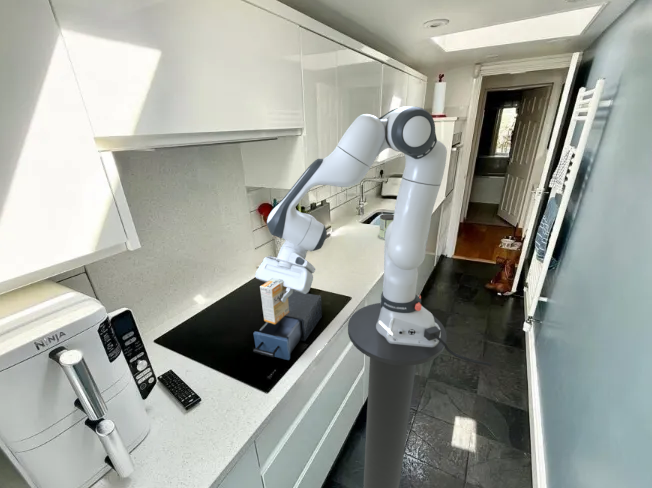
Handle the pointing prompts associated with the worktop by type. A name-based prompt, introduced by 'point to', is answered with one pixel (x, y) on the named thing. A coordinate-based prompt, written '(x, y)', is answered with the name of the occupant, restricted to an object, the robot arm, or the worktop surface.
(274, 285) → the supplement box
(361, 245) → the worktop surface
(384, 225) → the coffee can
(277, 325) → the drawer
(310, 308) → the drawer cabinet housing
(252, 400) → the worktop surface
